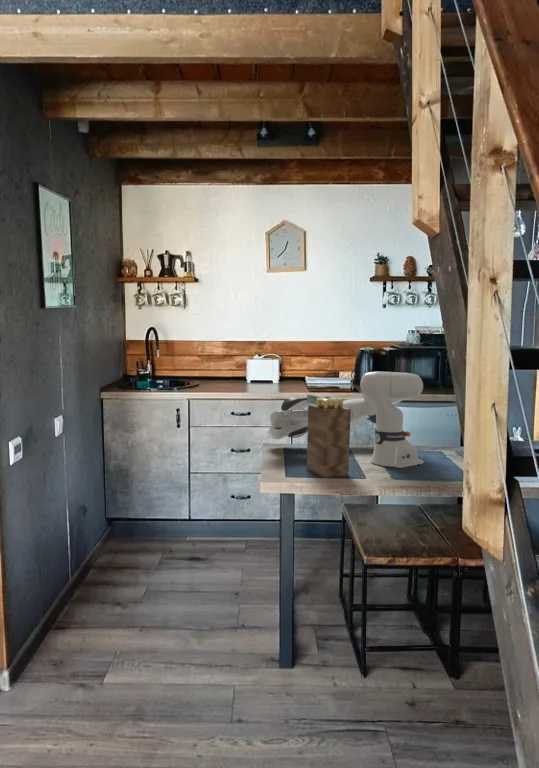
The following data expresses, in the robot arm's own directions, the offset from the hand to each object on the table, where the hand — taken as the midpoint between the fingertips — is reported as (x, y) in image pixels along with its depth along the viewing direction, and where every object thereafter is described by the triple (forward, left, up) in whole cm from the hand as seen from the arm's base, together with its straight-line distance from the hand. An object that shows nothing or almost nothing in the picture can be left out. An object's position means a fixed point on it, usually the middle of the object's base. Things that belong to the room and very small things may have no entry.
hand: (300, 410), depth 244 cm
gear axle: (0, +19, +5) cm, 20 cm away
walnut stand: (0, +24, -21) cm, 32 cm away
